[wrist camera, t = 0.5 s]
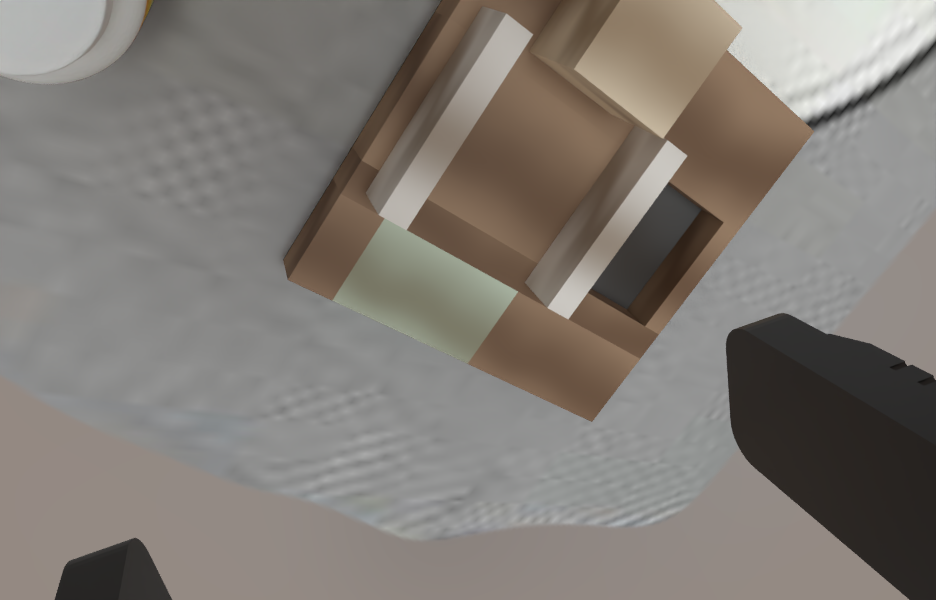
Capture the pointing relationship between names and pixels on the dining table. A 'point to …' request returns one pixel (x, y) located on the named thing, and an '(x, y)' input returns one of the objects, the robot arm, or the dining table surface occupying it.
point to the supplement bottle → (65, 37)
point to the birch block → (637, 53)
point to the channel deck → (535, 206)
